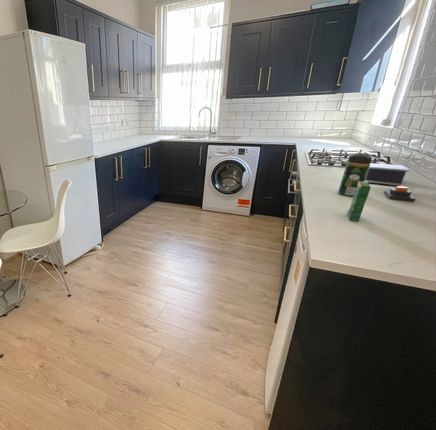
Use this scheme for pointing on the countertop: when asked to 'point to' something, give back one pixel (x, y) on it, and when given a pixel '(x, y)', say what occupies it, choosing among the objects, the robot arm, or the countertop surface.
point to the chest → (385, 177)
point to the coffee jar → (354, 173)
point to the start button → (401, 188)
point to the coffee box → (359, 200)
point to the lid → (388, 167)
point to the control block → (399, 195)
